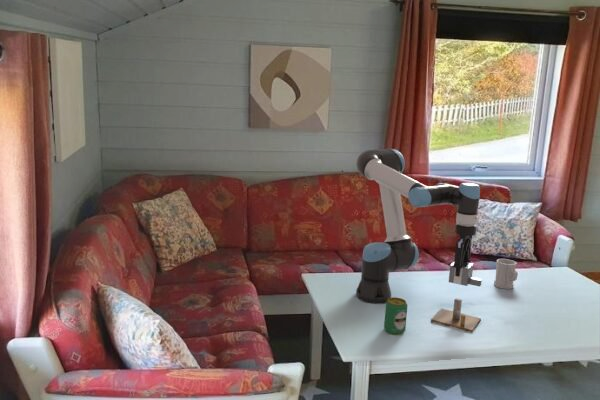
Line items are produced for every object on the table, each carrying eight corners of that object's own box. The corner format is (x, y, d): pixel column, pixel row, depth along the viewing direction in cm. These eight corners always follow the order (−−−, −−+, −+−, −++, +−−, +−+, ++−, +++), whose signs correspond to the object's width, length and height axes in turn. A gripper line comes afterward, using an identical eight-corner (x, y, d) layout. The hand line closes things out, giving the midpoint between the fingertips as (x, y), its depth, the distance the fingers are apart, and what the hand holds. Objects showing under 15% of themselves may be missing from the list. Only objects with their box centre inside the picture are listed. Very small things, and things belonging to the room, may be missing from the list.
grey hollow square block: (448, 282, 213) (450, 264, 211) (453, 277, 219) (455, 260, 217) (478, 288, 207) (480, 270, 206) (482, 283, 213) (484, 266, 212)
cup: (519, 286, 259) (522, 261, 256) (514, 291, 252) (518, 267, 249) (496, 281, 264) (499, 257, 262) (491, 286, 257) (494, 262, 254)
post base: (430, 321, 216) (433, 300, 214) (441, 310, 227) (443, 290, 225) (471, 332, 208) (474, 310, 206) (480, 320, 219) (482, 299, 217)
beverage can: (391, 336, 202) (393, 306, 200) (379, 327, 209) (382, 298, 207) (409, 333, 205) (412, 303, 203) (397, 324, 212) (399, 295, 210)
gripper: (468, 231, 199) (462, 290, 204) (482, 220, 216) (476, 275, 220) (448, 227, 203) (442, 286, 208) (463, 217, 219) (457, 271, 224)
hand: (460, 280), depth 214 cm, fingers closed on grey hollow square block, 7 cm apart
